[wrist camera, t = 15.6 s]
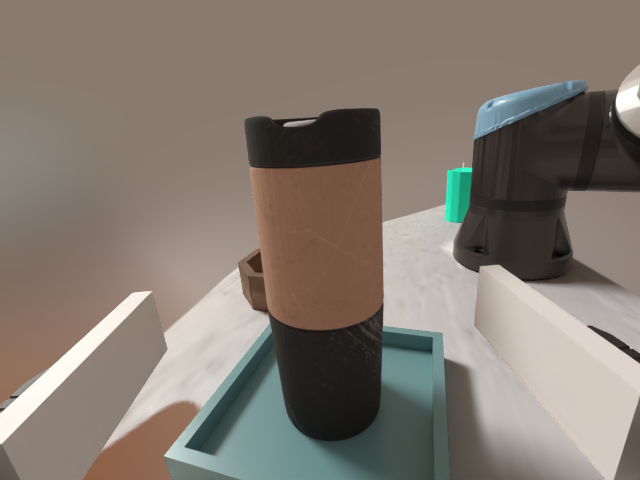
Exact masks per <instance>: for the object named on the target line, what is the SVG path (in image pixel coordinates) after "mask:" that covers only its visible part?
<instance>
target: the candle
mask: <svg viewBox="0 0 640 480" xmlns="http://www.w3.org/2000/svg"><path fill="white" fill-rule="evenodd" d="M471 176H472V168H464V162H463V168H457V169H454V170H448V177H447V193H446V210H445V220H447V221H450V222H457V223H462V222H463V219H464V217H465V215H466V212H467V210H468V208H469V201H470V188H471Z"/></svg>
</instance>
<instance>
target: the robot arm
mask: <svg viewBox="0 0 640 480" xmlns="http://www.w3.org/2000/svg"><path fill="white" fill-rule="evenodd" d="M587 90H588V86H587V84H586V81H585V80H573V81H568V82H564V83H557V84H553V85H547V86H542V87H538V88H533V89H529V90H525V91H521V92H517V93H513V94H509V95H505V96H501V97H498V98H495V99H492V100H490V101H488V102H486V103H485V104H484V105H483V106H482V107H481V108H480V110H479V112H478V115H477V121H476V128H475V135H474V136H473V140H474V150H473V163H472V176H471V188H470V201H469V208H468V210H467V212H466V215H465V217H464V219H463V222H462V224H461V226H460V228H459V231H458V233H457V235H456V237H455V240H454V249H453V256H454V258H455V259H456V260H457V261H458V262H459V263H461V264H462V265H464V266H466V267H468V268H470V269H473V270H475V271H478V272H479V280H478V291H477V301H476V311H475V322H474V326H475V327H476V328H477V329H478V331H479V332H480V333H481V334H482V335H483V336H484V338H485V339H486V340H487V341H488V342H489V343H490V345H491V346H492V347H493V348H494V349H495V350H496V352H497V353H498V354H499V355H500V356H501V358H502V359H503V360H504V361H505V362H506V363H507V365H508V366H509V367H510V368H511V369H512V370H513V372H514V373H515V374H516V375H517V376H518V377H519V379H520V380H521V381H522V382H523V383H524V385H525V386H526V387H527V388H528V389H529V390H530V392H531V393H532V394H533V395H534V396H535V397H536V399H537V400H538V401H539V402H540V403H541V405H542V406H543V407H544V408H545V409H546V410H547V412H548V413H549V414H550V415H551V416H552V417H553V419H554V420H555V421H556V422H557V423H558V424H559V426H560V427H561V428H562V429H563V430H564V432H565V433H566V434H567V435H568V436H569V437H570V439H571V440H572V441H573V442H574V443H575V444H576V446H577V447H578V448H579V449H580V450H581V451H582V453H583V454H584V455H585V456H586V457H587V459H588V460H589V461H590V462H591V463H592V464H593V466H594V467H595V468H596V469H597V470H598V471H599V473H600V474H601V475H602V476H603V477H604V478H605V480H640V353H638V352H637V351H635V350H634V349H630V348H629V346H628V345H626V344H625V343H623V342H622V341H620V340H619V339H617V338H616V337H614V336H613V335H611V334H609V333H607V332H604V331H602V330H600V329H598V328H595V327H593V326H591V325H590V326H585V325H584V324H583V323H581V322H580V321H578V320H577V319H575V318H574V317H573V316H571V315H570V314H568V313H567V312H565V311H564V310H563V309H561V308H560V307H558V306H557V305H555V304H554V303H553V302H551V301H550V300H548V299H547V298H546V297H544V296H543V295H541V294H540V293H538V292H537V291H536V290H534V289H533V288H531V287H530V286H528V285H527V284H526V283H524V282H523V281H521V280H520V279H548V278H553V277H558V276H561V275H563V274H565V273H567V272H568V271H569V270H570V267H571V262H572V257H573V250H572V246H571V241H570V236H569V232H568V227H567V223H566V218H565V213H564V209H565V203H566V197H567V193H568V191H609V192H640V65H639V66H638V67H636V68H635V69H634V70H633V71H632V72H631V73H630V74H629V75H628V76H627V77H626V78H625V80H624V81H623V82H622V84H621V86H620V88H619V89H614V90H604V91H597V92H585V91H587ZM166 351H167V346H166V342H165V338H164V334H163V330H162V327H161V323H160V319H159V315H158V311H157V307H156V304H155V300H154V296H153V292H152V291H147V292H134V293H132V294H131V295H130V296H129V297H128V298H126V299H125V300H124V301H123V302H122V303H121V304H120V305H119V306H118V307H117V308H116V309H114V310H113V311H112V312H111V313H110V314H109V315H108V316H107V317H106V318H105V319H103V320H102V321H101V322H100V323H99V324H98V325H97V326H96V327H95V328H94V329H92V330H91V331H90V332H89V333H88V334H87V335H86V336H85V337H84V338H83V339H81V341H79V342H78V343H77V344H76V345H75V346H74V347H73V348H72V349H71V350H70V351H68V352H67V353H66V354H65V355H64V356H63V357H62V358H61V359H60V360H58V361H57V362H56V363H55V364H54V365H53V366H52V367H51V368H50V369H46V370H45V371H43V372H42V373H40V374H38V375H37V376H35V377H34V378H32V379H30V380H29V381H27V382H26V383H25V384H24V385H23V386H21V387H20V388H19V389H18V390H17V391H16V392H15V393H13V394H12V395H11V396H10V399H7V400H6V401H4V402H3V403H2V404H1V405H0V480H82V479H83V478H84V476H85V475H86V473H87V472H88V470H89V469H90V467H91V465H92V464H93V462H94V461H95V459H96V458H97V456H98V455H99V453H100V452H101V450H102V449H103V447H104V446H105V444H106V442H107V441H108V439H109V438H110V436H111V435H112V433H113V432H114V430H115V429H116V427H117V426H118V424H119V423H120V421H121V419H122V418H123V416H124V415H125V413H126V412H127V410H128V409H129V407H130V406H131V404H132V403H133V401H134V400H135V398H136V397H137V395H138V393H139V392H140V390H141V389H142V387H143V386H144V384H145V383H146V381H147V380H148V378H149V377H150V375H151V374H152V372H153V370H154V369H155V367H156V366H157V364H158V363H159V361H160V360H161V358H162V357H163V355H164V354H165V352H166Z"/></svg>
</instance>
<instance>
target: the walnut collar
mask: <svg viewBox="0 0 640 480" xmlns="http://www.w3.org/2000/svg"><path fill="white" fill-rule="evenodd" d="M238 264H239V270H240V277H241V283H242V289H243V294H244V295H245V297H246V299H247V300H248V302H249V303H250V305H251V306H252V308H253V309H255V310H264V311H268V306H267V299H266V291H265V283H264V275H263V267H262V259H261V252H260V249H257V250H255V251H253V252H252V253H251V254H249V255H248V256H247V257H245V258H244V259H242V260H241V261H240V262H238Z"/></svg>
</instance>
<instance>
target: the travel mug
mask: <svg viewBox="0 0 640 480" xmlns="http://www.w3.org/2000/svg"><path fill="white" fill-rule="evenodd" d="M245 133H246V140H247V149H248V156H249V164H250V173H251V181H252V188H253V196H254V204H255V212H256V220H257V228H258V235H259V244H260V252H261V259H262V267H263V275H264V283H265V291H266V299H267V306H268V312H269V318H270V324H271V330H272V335H273V341H274V347H275V353H276V358H277V364H278V370H279V375H280V381H281V387H282V392H283V398H284V403H285V408H286V412H287V414H288V417H289V419H290V420H291V422H292V424H293V425H294V426H295V427H296V428H297V429H298V430H299V431H301V432H302V433H304V434H305V435H307V436H309V437H312V438H315V439H318V440H323V441H340V440H345V439H348V438H352V437H354V436H356V435H358V434H360V433H362V432H363V431H364V430H366V429H367V428H368V427H369V426H370V425H371V424H372V423H373V421H374V420H375V418H376V416H377V414H378V411H379V408H380V399H381V375H382V339H383V298H384V293H383V240H382V191H381V190H382V187H381V156H380V155H381V139H380V138H381V136H380V135H381V134H380V112H379V110H378V109H373V108H359V109H337V110H330V111H326V112H324V113H322V114H321V115H320V116H319V117H312V118H297V119H278V120H272V119H271V118H270V117H267V116H257V117H251V118H247V119H245Z"/></svg>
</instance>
